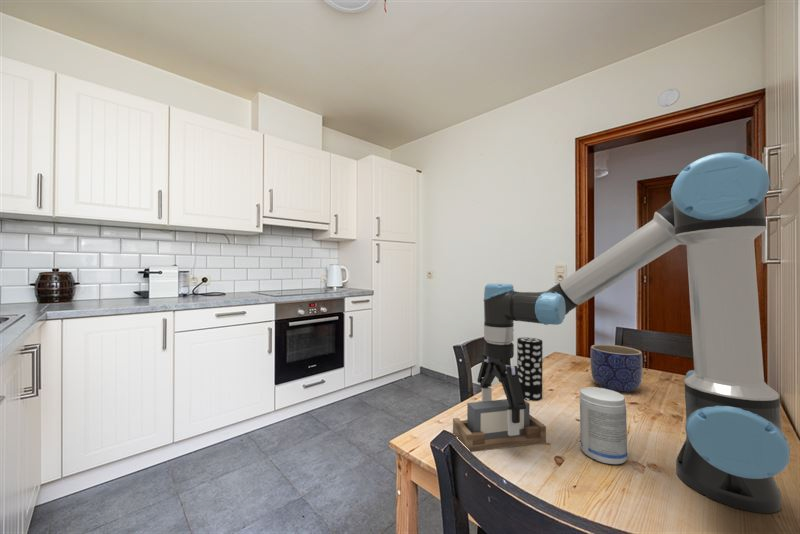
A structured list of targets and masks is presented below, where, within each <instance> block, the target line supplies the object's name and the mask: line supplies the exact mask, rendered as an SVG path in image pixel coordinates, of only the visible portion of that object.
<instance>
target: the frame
mask: <svg viewBox="0 0 800 534" xmlns="http://www.w3.org/2000/svg"><path fill="white" fill-rule="evenodd" d="M524 401H525V405H526V409H521V410H520V422H519V435H524V427H528V426H530V415H531V413H530V410H531V409H530V408H531V407H530V406H531V405H530V402H528V401H526V400H525V399H524ZM508 407H509V403H508V400H507V398H505V399H496V400H495V399H494V400H493V399H492V401H483V402H482V401H475V402H467V407H466V408H467V411H466V412H467V413H466V415H467V417H466V418H467V419H466V420H467V428H468V430H469V431H470V432H471V433H473V432H483V433H484V434H485V440H488V439H495V438H503V437H510V436H509V435H508ZM514 436H517V435H514Z"/></svg>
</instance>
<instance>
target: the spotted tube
mask: <svg viewBox="0 0 800 534" xmlns="http://www.w3.org/2000/svg"><path fill="white" fill-rule="evenodd" d="M516 340H517V342H516V343H517V345H516V346H517V347H516V348H517V349H516V350H517V351H516V352H517V356H516V357H517V358H516V360H517V361H516V362H517V364H516V366H517V368H518V377H519V381H520V385H521V389H522V393H523V397H524V400H525V399H527V401H530V400H532V401H534V402H535V401H537V402H538V401H542V400H543V354H544V353H543V347H544V346H543V340H542V339H539V338H536V337H518V338H517V339H516Z"/></svg>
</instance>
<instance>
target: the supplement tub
mask: <svg viewBox="0 0 800 534" xmlns="http://www.w3.org/2000/svg"><path fill="white" fill-rule="evenodd" d="M579 393H580V394H579V429H580V430H579V433H580V434H579V435H580V449H581V450H582V452H583V453H584V454H585V455H586V456H588V457H589V458H591V459H593V460H595V461H597V462H600V463H603V464H608V465H620V464H621V465H622V464H624V463H625V462H626V461H627V459H628V434H627V433H628V431H627V429H628V428H627V405H626V397H625V395H623V394H621V392H615V391H612V390H608V389H605V388H602V387H594V386H588V387H582V388H581V389H580V391H579Z"/></svg>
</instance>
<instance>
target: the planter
mask: <svg viewBox="0 0 800 534" xmlns="http://www.w3.org/2000/svg"><path fill="white" fill-rule="evenodd" d="M590 373H591V376H592V377H591V378H592V379H593V381H594V382H595V383H596V384H597V385H598V386H599V387H600V388H604V389H608V390H612V391H615V392H618V393H625V394H626V393H633V392H635V391H636V390H638V389H639V388H640V387H641V385H642V381H643V352H642V351H641V350H639V349H637V348H634V347H633V348H632V347H630V346H629V347H628V346H624V345H617V344H615V345H614V344H593V345H591V346H590Z"/></svg>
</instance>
